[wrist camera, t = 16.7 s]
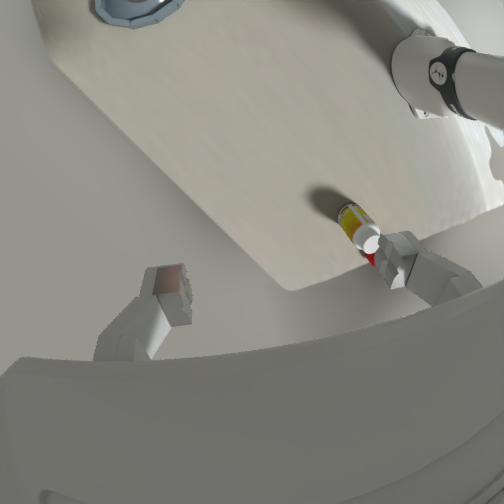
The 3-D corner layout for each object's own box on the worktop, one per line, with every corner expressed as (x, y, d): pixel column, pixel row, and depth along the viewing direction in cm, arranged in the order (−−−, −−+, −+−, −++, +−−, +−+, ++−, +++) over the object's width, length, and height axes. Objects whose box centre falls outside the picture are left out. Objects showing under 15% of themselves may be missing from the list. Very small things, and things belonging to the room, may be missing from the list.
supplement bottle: (337, 229, 53) (358, 261, 45) (336, 205, 49) (359, 235, 41) (361, 223, 53) (385, 253, 45) (361, 199, 49) (387, 228, 41)
